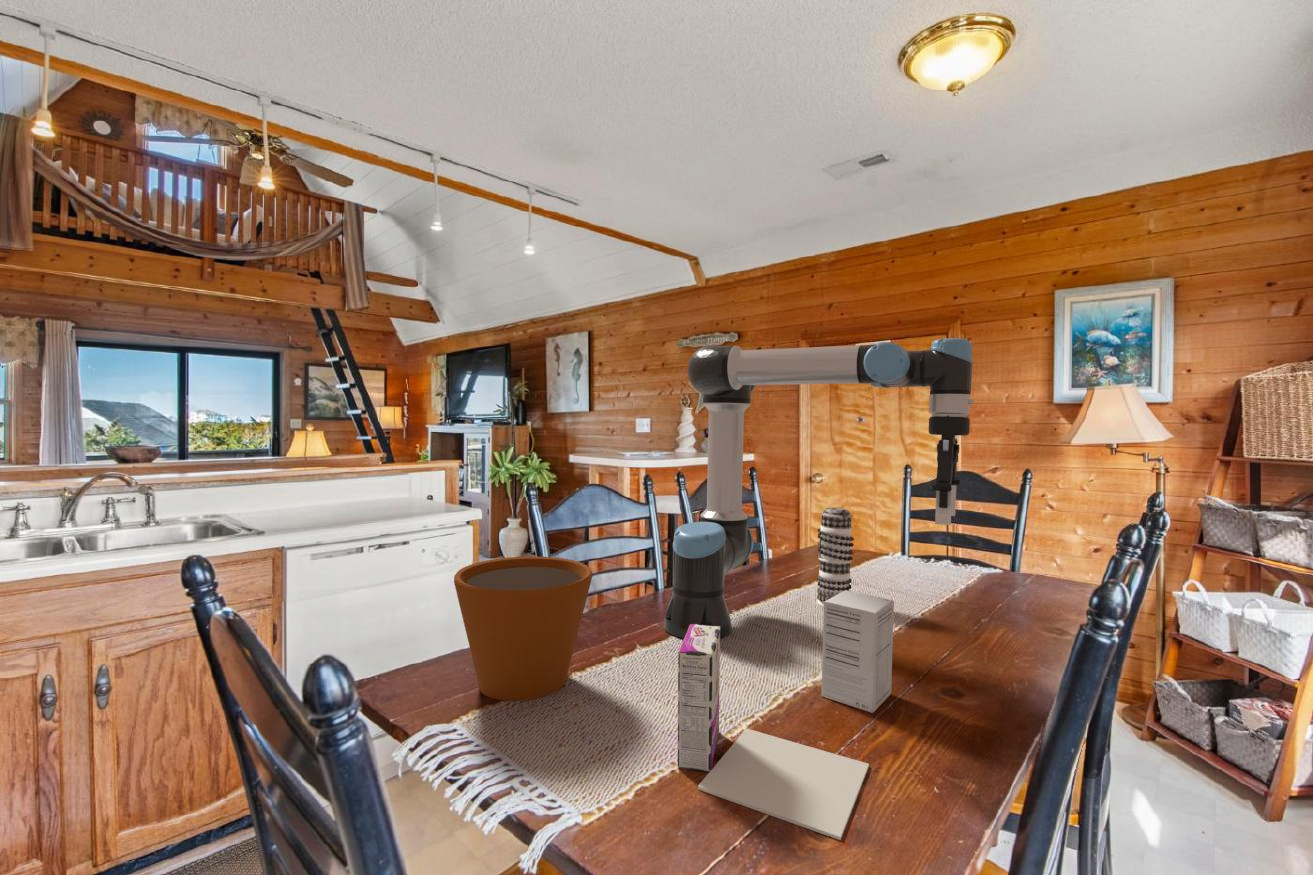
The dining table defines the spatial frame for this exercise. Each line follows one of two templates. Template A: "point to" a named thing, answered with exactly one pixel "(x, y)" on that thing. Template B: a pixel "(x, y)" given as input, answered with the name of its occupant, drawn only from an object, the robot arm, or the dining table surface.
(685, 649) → the candy bar box
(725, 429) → the robot arm
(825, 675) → the supplement box
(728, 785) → the mat
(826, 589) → the decorative candle
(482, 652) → the flower pot
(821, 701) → the dining table surface
